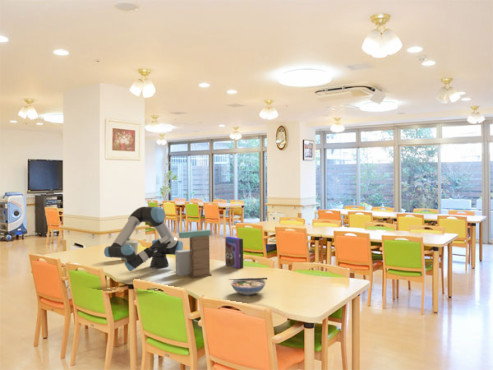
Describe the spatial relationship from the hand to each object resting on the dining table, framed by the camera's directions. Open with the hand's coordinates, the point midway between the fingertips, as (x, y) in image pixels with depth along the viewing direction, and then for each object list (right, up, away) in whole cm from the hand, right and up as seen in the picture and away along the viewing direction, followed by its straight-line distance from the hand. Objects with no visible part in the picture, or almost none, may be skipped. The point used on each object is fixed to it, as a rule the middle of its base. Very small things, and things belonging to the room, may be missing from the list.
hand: (170, 237), depth 297 cm
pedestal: (+20, -30, +10) cm, 37 cm away
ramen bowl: (+57, -31, -39) cm, 75 cm away
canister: (-51, -30, +71) cm, 93 cm away
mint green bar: (+17, 0, +7) cm, 18 cm away
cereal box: (+45, -29, +39) cm, 67 cm away
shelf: (+12, -30, +18) cm, 37 cm away
